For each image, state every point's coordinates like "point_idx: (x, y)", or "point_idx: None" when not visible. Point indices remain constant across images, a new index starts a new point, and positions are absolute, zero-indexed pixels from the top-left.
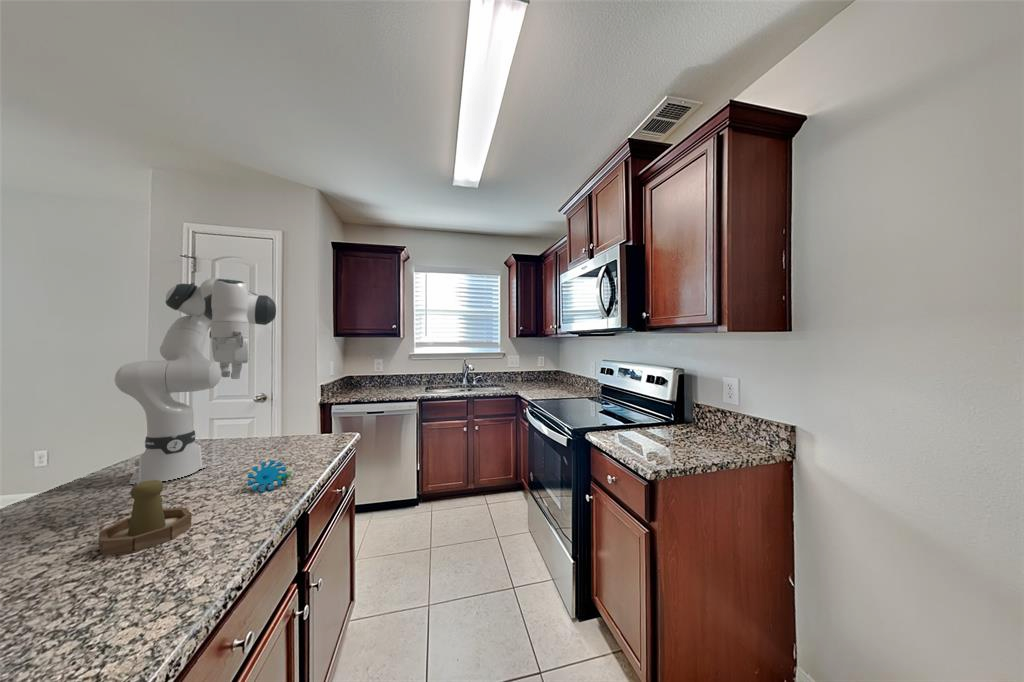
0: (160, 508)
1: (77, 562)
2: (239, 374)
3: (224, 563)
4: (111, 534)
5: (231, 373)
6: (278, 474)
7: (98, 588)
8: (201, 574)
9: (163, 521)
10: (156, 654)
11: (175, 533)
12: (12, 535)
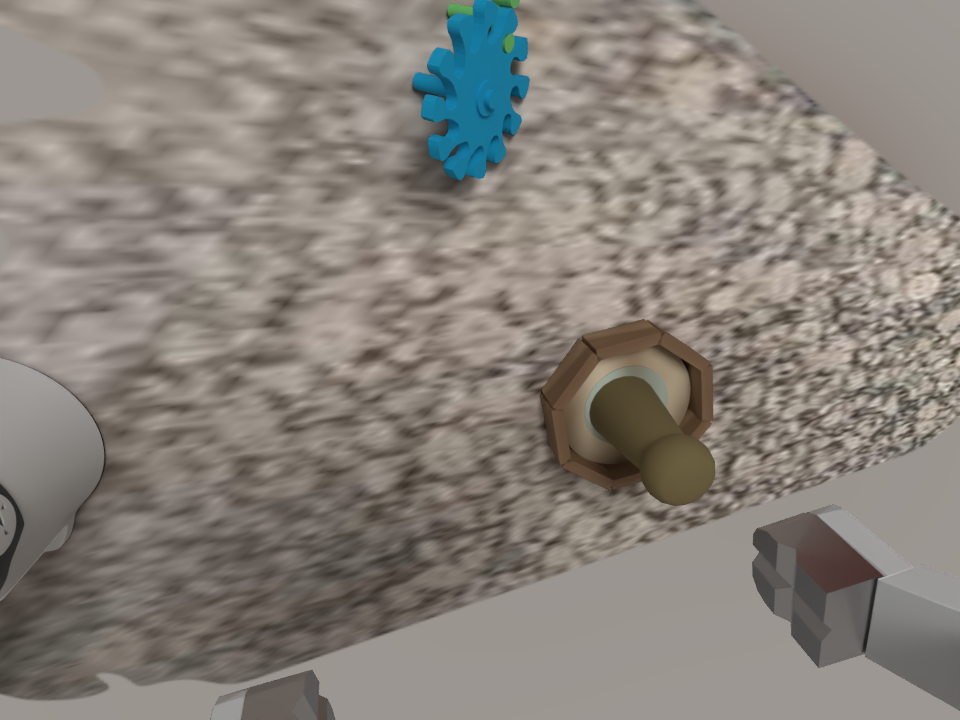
0: (662, 409)
1: None
2: (881, 547)
3: (906, 242)
4: (598, 466)
5: (840, 651)
6: (501, 46)
7: (796, 421)
8: (906, 280)
9: (643, 385)
10: None
11: (689, 347)
12: (385, 630)
